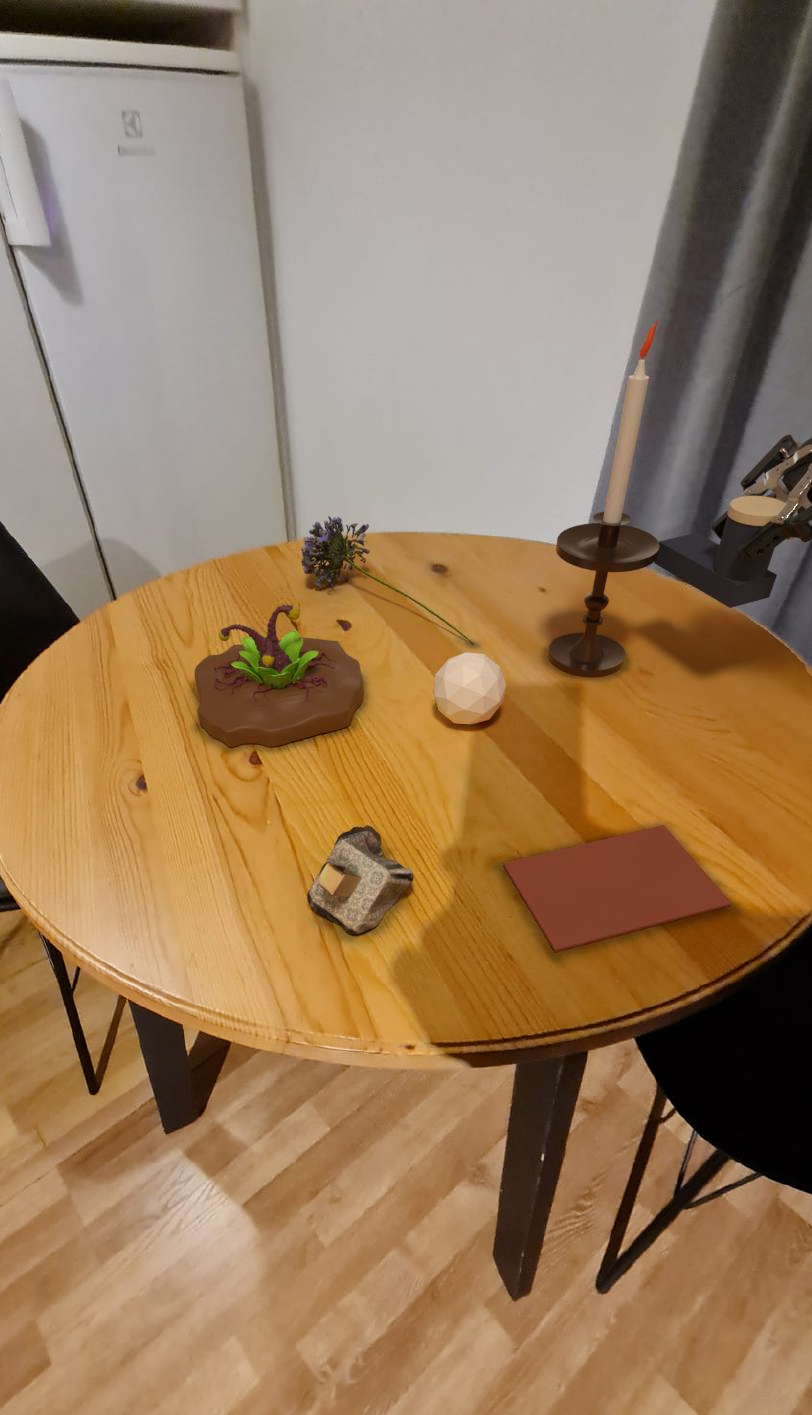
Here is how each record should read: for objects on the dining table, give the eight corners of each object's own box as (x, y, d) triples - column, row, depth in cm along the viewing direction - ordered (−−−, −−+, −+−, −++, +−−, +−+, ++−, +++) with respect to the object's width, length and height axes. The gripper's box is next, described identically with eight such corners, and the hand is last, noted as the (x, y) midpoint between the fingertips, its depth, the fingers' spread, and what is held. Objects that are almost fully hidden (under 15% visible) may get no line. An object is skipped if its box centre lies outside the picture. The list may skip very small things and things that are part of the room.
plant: (379, 732, 82) (377, 641, 75) (201, 758, 80) (181, 668, 73) (347, 643, 97) (342, 560, 89) (196, 664, 95) (178, 580, 87)
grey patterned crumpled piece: (439, 828, 66) (378, 878, 56) (431, 897, 68) (371, 957, 58) (357, 807, 69) (286, 851, 59) (352, 874, 72) (283, 927, 62)
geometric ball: (480, 744, 84) (504, 721, 77) (415, 717, 84) (432, 691, 76) (500, 686, 86) (526, 658, 78) (436, 659, 86) (456, 628, 78)
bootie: (770, 597, 77) (801, 509, 71) (729, 608, 76) (757, 519, 69) (691, 554, 85) (712, 471, 79) (652, 563, 84) (671, 480, 78)
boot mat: (662, 827, 69) (663, 824, 69) (730, 906, 62) (732, 902, 62) (503, 866, 67) (503, 863, 66) (554, 952, 60) (555, 949, 59)
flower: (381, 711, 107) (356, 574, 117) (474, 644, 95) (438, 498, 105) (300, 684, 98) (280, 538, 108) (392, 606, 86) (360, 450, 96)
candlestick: (615, 632, 96) (685, 307, 72) (644, 677, 88) (734, 328, 64) (531, 638, 96) (574, 314, 72) (553, 684, 88) (609, 336, 64)
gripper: (840, 354, 70) (681, 495, 78) (937, 393, 59) (741, 552, 67) (872, 412, 74) (717, 541, 82) (969, 459, 63) (780, 602, 71)
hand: (729, 545), depth 74 cm, fingers closed on bootie, 5 cm apart
